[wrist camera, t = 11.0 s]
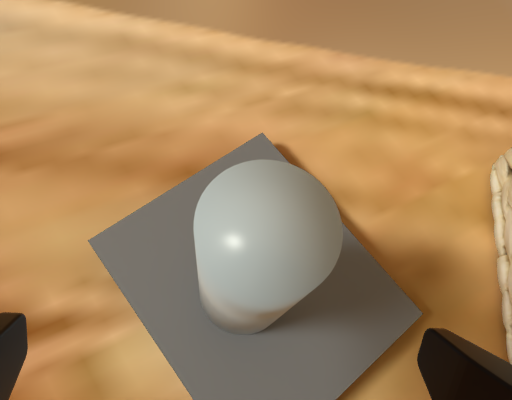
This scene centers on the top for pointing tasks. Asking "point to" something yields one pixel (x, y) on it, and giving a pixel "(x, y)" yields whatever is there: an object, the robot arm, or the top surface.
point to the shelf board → (271, 338)
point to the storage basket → (504, 236)
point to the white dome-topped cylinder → (262, 243)
